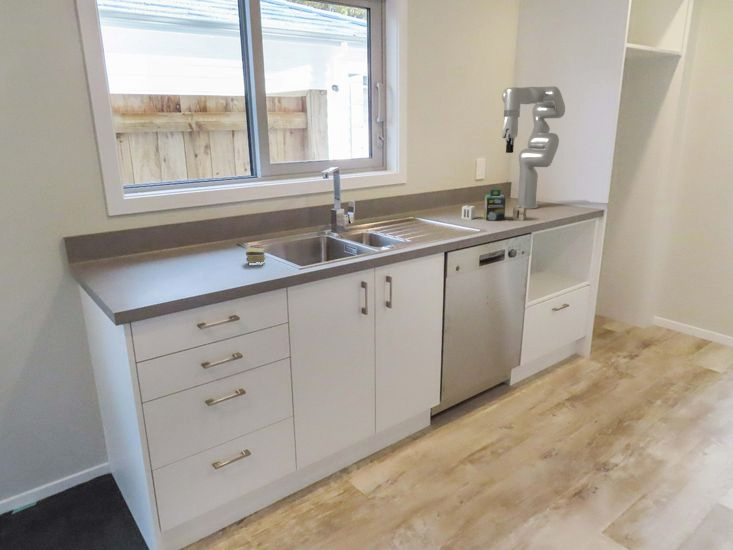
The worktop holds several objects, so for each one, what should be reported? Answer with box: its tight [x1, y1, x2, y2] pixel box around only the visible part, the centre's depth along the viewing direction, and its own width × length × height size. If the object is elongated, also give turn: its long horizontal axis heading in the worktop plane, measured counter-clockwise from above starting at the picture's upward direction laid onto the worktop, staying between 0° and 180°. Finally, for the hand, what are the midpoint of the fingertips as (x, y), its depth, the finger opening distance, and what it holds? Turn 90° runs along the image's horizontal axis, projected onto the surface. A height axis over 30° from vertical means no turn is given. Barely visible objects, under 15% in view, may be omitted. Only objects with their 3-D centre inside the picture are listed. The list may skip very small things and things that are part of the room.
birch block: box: [512, 206, 528, 222], centre depth 254 cm, size 5×5×6 cm
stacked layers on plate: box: [245, 247, 267, 264], centre depth 184 cm, size 10×9×6 cm
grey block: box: [461, 205, 476, 220], centre depth 258 cm, size 5×5×6 cm
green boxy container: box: [483, 188, 507, 222], centre depth 254 cm, size 9×9×15 cm
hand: (509, 152), depth 259 cm, fingers closed
